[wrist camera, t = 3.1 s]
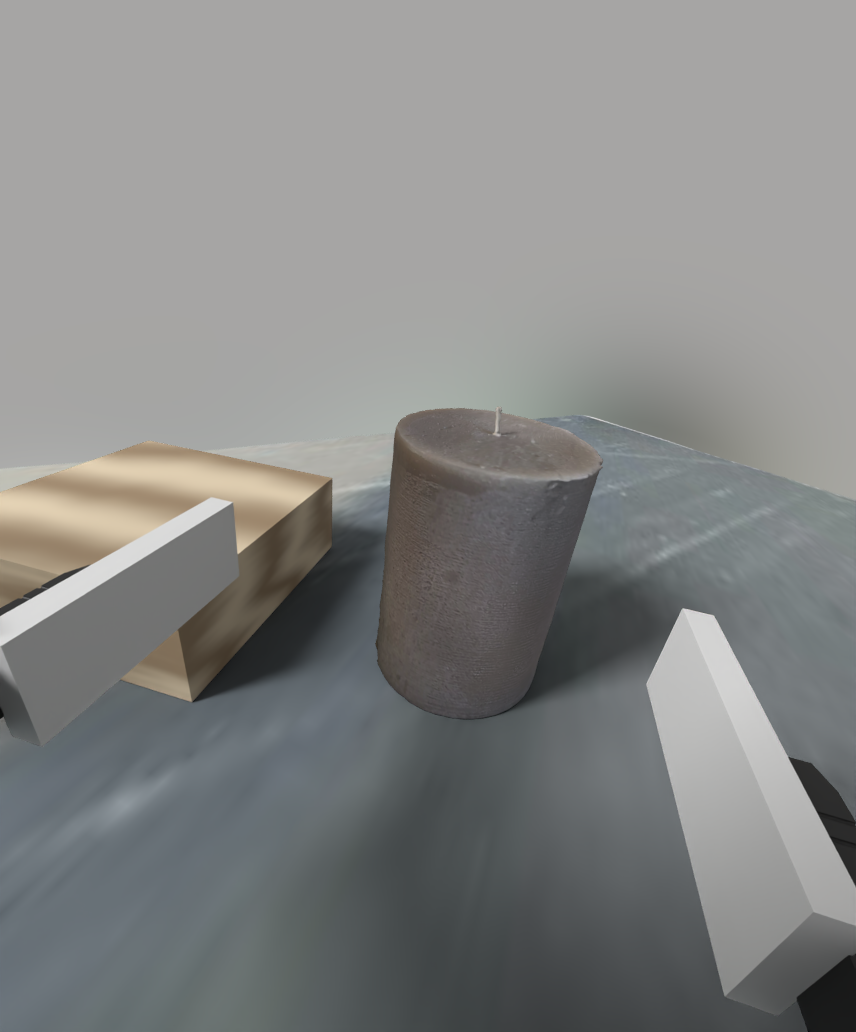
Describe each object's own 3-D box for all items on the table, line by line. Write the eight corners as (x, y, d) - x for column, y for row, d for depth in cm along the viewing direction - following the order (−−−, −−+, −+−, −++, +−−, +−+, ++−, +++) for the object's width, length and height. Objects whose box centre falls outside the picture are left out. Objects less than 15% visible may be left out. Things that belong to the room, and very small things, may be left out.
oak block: (160, 507, 39) (148, 440, 36) (331, 546, 36) (332, 478, 33) (-60, 623, 25) (-107, 529, 22) (192, 702, 22) (173, 606, 19)
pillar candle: (344, 636, 27) (352, 388, 20) (458, 584, 33) (495, 379, 26) (452, 758, 21) (517, 462, 14) (569, 668, 27) (655, 428, 20)
